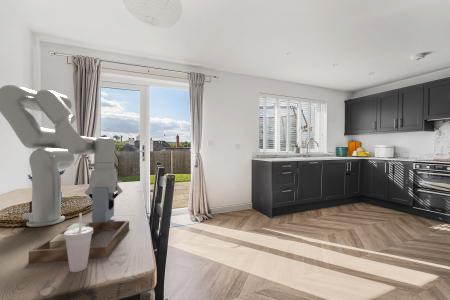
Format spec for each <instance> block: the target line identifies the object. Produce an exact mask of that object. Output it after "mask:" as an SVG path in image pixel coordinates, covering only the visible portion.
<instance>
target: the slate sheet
mask: <svg viewBox="0 0 450 300" xmlns="http://www.w3.org/2000/svg"><path fill="white" fill-rule="evenodd" d="M91 200H92V202H91V203H92V205H91V206H92V207H91V208H92V209H91V222H109V220H110V219H112V218H113V217H114V216H115V206H114V207H113V208H112V209H111V210H109V200H110V197H109V194H108V187H95V188H93V196H92V199H91Z"/></svg>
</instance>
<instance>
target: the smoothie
mask: <svg viewBox="0 0 450 300" xmlns="http://www.w3.org/2000/svg"><path fill="white" fill-rule="evenodd" d="M78 218H79V219H78V223H79V227H78V228H73V229H70V230H68V231H66V232H65V233H64V238H65V240H66V247H67V254H68V260H67V261H68V266H69V272H71V273H78V272H81V271H84V270H85V269H87V268H88V262H89V259H88V256H89V250H90V246H91V242H92V239H91V236H92V233H93V228H92V227H82V223H83V212H79V216H78Z"/></svg>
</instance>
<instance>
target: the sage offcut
mask: <svg viewBox="0 0 450 300" xmlns="http://www.w3.org/2000/svg"><path fill="white" fill-rule="evenodd" d="M76 223H77V224H74V223H72V224H73V225H72V224H71V225H69V226H70V227H69V226H68V227H66V228H67V229H66V228H65V229H66V231H68V230H70V229H73V228H78V227H79V222H76ZM82 227H89V223H87V222H82ZM66 231H65V232H66Z"/></svg>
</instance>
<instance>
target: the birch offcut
mask: <svg viewBox="0 0 450 300" xmlns="http://www.w3.org/2000/svg"><path fill="white" fill-rule="evenodd" d="M57 234H58V233H57ZM56 248H66V240H65V238H64V234H58V235H57V236H56V237H55V238H54V239H52V240H51V241H50V249H56Z"/></svg>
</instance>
